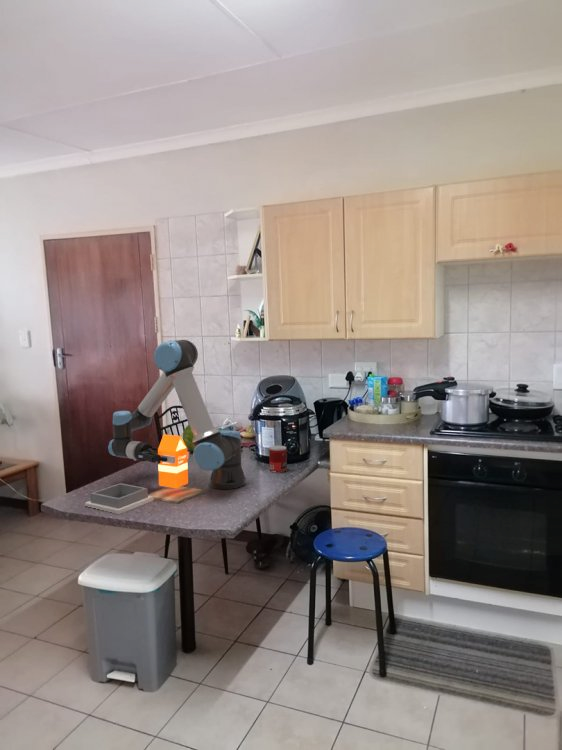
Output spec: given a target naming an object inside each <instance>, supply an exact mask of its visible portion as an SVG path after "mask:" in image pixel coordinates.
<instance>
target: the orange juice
mask: <svg viewBox="0 0 562 750" xmlns="http://www.w3.org/2000/svg"><path fill="white" fill-rule="evenodd" d="M157 448H158V454H159V455H160V456H161V455H169V456H175V464H172V463H166V462H161V463H160V464H158V463H157V466H158V467H157V469H158V486H161V487H164V488H166V487H172V488H179V487H181V486H183V487H184V486H185V485H187V484H189V471H188V470H189V466H188V465H189V464H188V459H187V451H188V448H187V447H186V445H185V443H184V441H183V437H182V436H181V435H173V434H164V433H163V435H162V438H161V441H160V443H159V446H158V447H157Z"/></svg>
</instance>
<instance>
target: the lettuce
mask: <svg viewBox="0 0 562 750" xmlns="http://www.w3.org/2000/svg"><path fill="white" fill-rule="evenodd" d="M193 439H194V435H193V432H192V430H191V427H190V425H189V424H188V425H187V426H185V428H184V430H183V433H182V440H183V441H184V443H185V445H186V447H187V450H190V451H191V452H194V449H195V447H194V445H193V442H192V441H193Z"/></svg>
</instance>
